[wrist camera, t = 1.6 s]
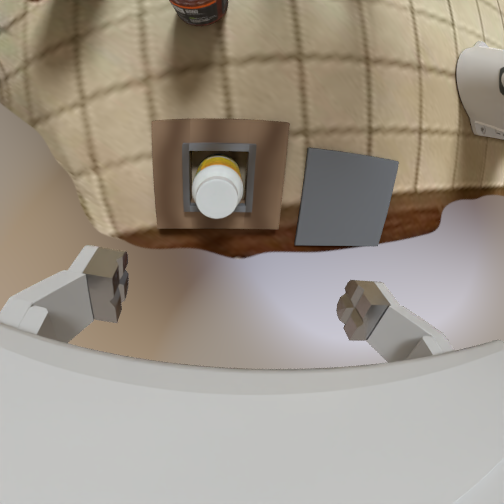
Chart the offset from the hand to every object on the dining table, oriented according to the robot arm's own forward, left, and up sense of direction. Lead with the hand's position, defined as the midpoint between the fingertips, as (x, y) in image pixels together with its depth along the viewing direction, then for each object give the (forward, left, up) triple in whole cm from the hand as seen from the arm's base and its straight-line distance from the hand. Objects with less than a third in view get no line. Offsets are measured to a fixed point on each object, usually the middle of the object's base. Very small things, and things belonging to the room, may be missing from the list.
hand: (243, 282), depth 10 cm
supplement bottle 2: (+1, +3, -26) cm, 27 cm away
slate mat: (-17, +6, -26) cm, 32 cm away
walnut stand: (+1, +3, -26) cm, 26 cm away
